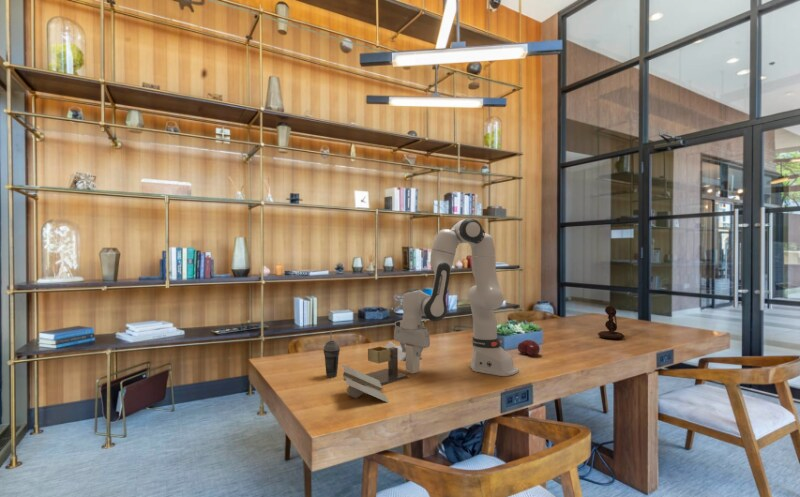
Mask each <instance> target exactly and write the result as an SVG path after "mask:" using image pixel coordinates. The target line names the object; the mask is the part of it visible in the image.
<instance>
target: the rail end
mask: <svg viewBox="0 0 800 497" xmlns="http://www.w3.org/2000/svg"><path fill="white" fill-rule="evenodd" d="M405 346H406V359H405V371H406V373H409V374H410V373H411V374H415V373H419V372H421V371H420V369H421V368H420V362H421V360H420V357H419V356H416V352H418V350H419V349H418V346H414V345H412V344H408V343H406V344H405Z"/></svg>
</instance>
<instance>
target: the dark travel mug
mask: <svg viewBox="0 0 800 497" xmlns="http://www.w3.org/2000/svg"><path fill="white" fill-rule="evenodd" d="M329 335H330V340H329V341H327V342H326V343H325V344H324V347H323V350H322V351H323V355H324V363H325V365H324V366H325V374H326V378H329V379H332V378H336V377H338V369H339V357H340V356H339V355H340V346H339V343H337V341H334V340H332V339H333V338H332V330H330V331H329Z"/></svg>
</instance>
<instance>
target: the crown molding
mask: <svg viewBox="0 0 800 497" xmlns="http://www.w3.org/2000/svg"><path fill="white" fill-rule="evenodd" d="M384 347H385V348H391V347H395V348H398V361H399V362H403V361H406V352H405V353H404V352H402V348H401V345H400V344H398V345H396V344H395V343H393V341H388V343H387V344H386V345H385V346H384ZM405 348H406V345H405ZM420 359H423V357H422V355H421V356H420Z"/></svg>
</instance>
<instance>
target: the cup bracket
mask: <svg viewBox="0 0 800 497" xmlns="http://www.w3.org/2000/svg"><path fill="white" fill-rule="evenodd" d="M367 361H368V362H372V363H375V364H383V363H387V365H388V366H387V368H384V369H379V370H376V371H372V372H370V373H366V374H365V373H364V374H365V375H368V376H370V377H372V378H375V379H377V380H379V381H380V384H381V386H384V385H388V384H390V383H394V382H397V381H401V380H404V379H407V378H408V377H409V375H408V374H405V373H402V372H399V370H398V369H399V368H398V367H399V366H398V365H399V364H398V362H399V359H398V348H395V347H391V348H385V346H375V347H371V348H368V349H367Z"/></svg>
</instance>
